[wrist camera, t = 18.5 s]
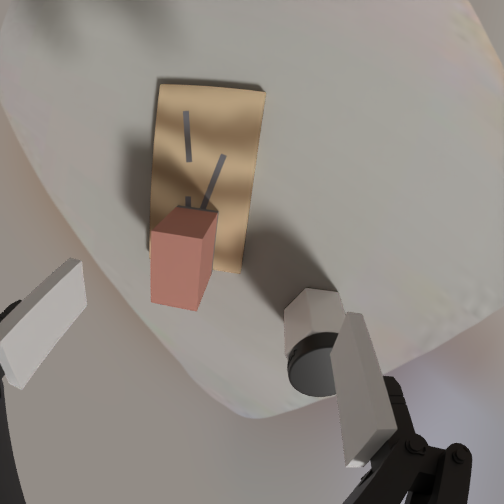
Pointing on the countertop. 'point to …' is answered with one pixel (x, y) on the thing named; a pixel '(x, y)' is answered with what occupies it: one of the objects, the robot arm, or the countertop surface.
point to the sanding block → (182, 256)
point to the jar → (312, 340)
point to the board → (207, 160)
